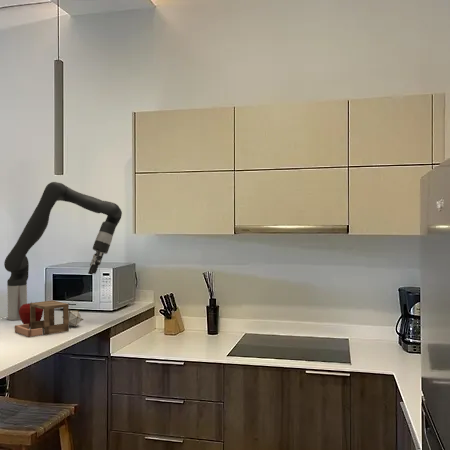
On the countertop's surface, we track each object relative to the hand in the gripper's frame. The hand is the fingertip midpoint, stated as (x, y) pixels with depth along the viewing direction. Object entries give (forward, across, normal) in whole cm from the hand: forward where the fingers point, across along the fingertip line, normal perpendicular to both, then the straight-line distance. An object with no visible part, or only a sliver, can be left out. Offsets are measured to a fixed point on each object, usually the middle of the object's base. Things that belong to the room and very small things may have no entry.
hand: (91, 273), depth 246 cm
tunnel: (+31, +4, -10) cm, 33 cm away
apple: (+31, -10, -17) cm, 37 cm away
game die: (+26, 0, 0) cm, 26 cm away
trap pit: (+34, +7, -18) cm, 40 cm away
